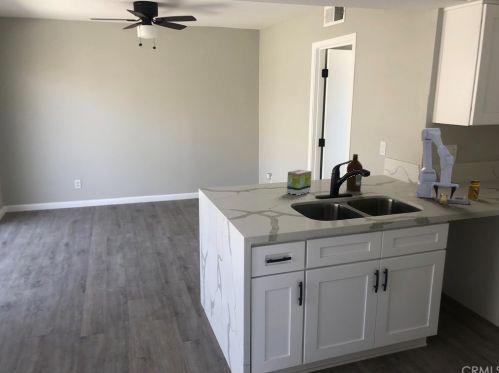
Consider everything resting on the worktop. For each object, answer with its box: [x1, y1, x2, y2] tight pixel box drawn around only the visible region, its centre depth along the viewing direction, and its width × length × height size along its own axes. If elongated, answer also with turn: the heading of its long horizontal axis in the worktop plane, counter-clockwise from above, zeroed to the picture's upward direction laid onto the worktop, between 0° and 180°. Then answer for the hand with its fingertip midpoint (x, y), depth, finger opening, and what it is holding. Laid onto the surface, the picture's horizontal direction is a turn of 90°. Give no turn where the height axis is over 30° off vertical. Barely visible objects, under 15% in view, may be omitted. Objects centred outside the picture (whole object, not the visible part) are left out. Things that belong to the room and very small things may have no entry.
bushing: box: [438, 192, 449, 206], centre depth 255 cm, size 4×4×6 cm
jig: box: [435, 194, 470, 206], centre depth 262 cm, size 18×11×2 cm, turn 67°
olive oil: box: [346, 153, 364, 192], centre depth 289 cm, size 11×11×25 cm
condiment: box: [463, 179, 480, 201], centre depth 269 cm, size 7×8×12 cm
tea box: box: [286, 169, 312, 196], centre depth 280 cm, size 15×10×15 cm, turn 143°
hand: (443, 198), depth 255 cm, fingers open, 7 cm apart
